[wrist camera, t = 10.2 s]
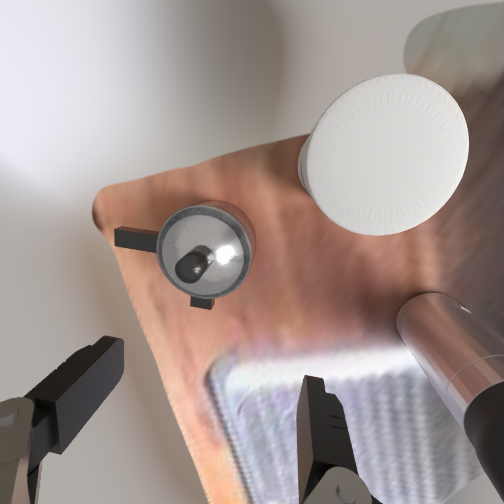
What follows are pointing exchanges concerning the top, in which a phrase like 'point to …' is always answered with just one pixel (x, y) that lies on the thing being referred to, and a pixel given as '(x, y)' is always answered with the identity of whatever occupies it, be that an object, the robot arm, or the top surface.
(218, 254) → the lid
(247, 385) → the top surface
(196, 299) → the pot
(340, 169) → the container
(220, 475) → the top surface
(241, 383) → the top surface
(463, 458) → the top surface
